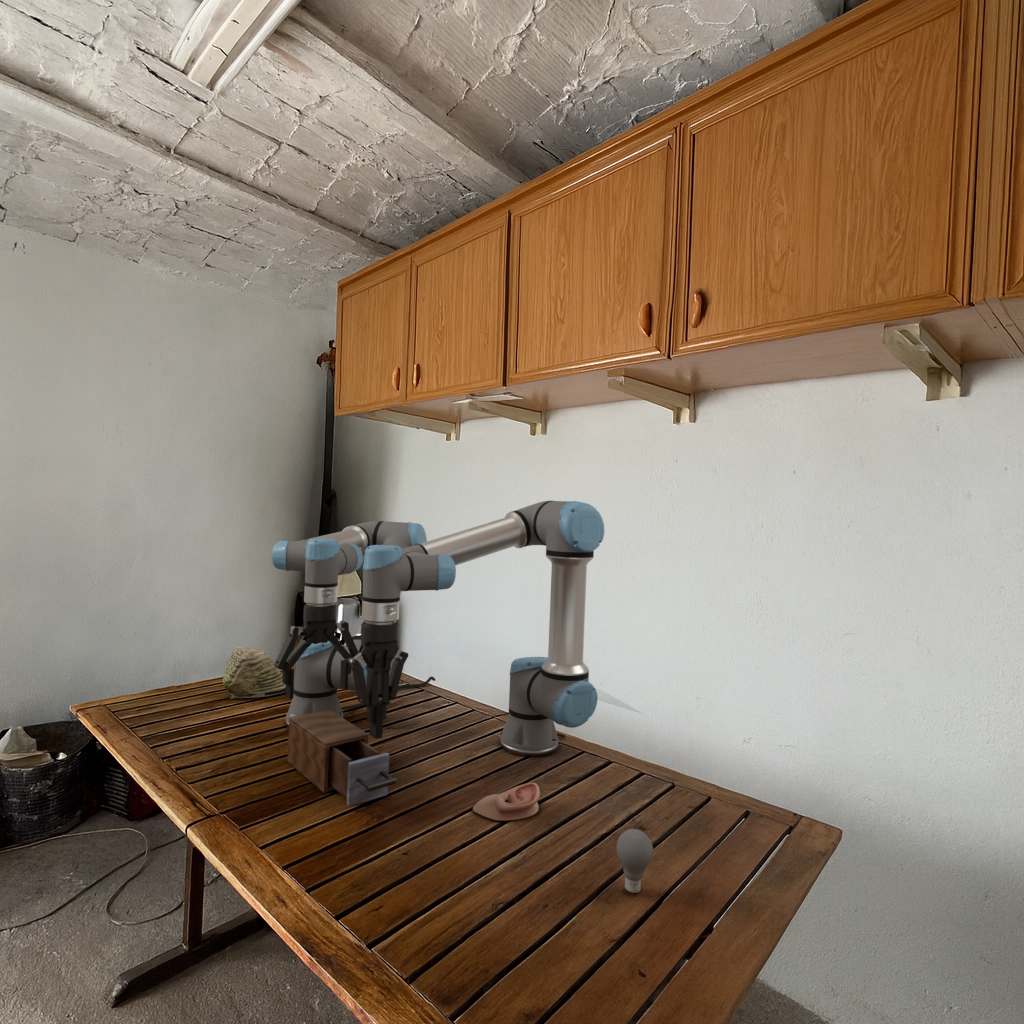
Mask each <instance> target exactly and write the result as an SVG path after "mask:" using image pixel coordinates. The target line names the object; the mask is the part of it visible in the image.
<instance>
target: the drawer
mask: <svg viewBox="0 0 1024 1024" xmlns="http://www.w3.org/2000/svg"><path fill="white" fill-rule="evenodd" d="M389 772H390V753H389V752H382V753H381V752H380V751H379V750H377V749H376V748H374V747H372V746H371V745H370V744H369V743H368V744H367V743H365V742H364V741H362V740H357V741H352V742H348V743H344V744H340V745H336V746H331V747H329V769H328V784H330V785H331V786H332V787H333V788H334V789H336V790H335V791H337V792H338V793H339V794H341V796H343V797H344V798H345V799H346V806H348V807H349V808H350V807H352V806H356V805H359V804H362V803H365V802H369V801H373V800H375V799H378V798H381V797H385V796H388V794H389V786H392V785H396V784H397V783H398V780H397V777H396V776H391V775H390V773H389Z"/></svg>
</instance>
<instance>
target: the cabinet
mask: <svg viewBox="0 0 1024 1024" xmlns="http://www.w3.org/2000/svg"><path fill="white" fill-rule="evenodd" d="M287 739H288V740H287V763H288V764H290V765H291V766H292V767H293V768H294V769H295V770H297V771H298V772H299V773H300V774H301V775H303V776H304V777H305V778H306V779H307V780H308V781H310V782H311V783H312V784H313V785H314V786H315V787H316V788H317V789H319V790H320V791H321V793H323V794H326V793H328V792H329V793H330V792H331V791H337V790H336V789H334V788H333V787H332V786H331V785H330V784H328V769H329V747H331V746H336V745H340V744H344V743H348V742H352V741H357V740H362V741H364V742H365V743H367V744H368V745H369V733H368V732H365V731H364V730H362V729H361V728H360V727H358V726H356V725H355V724H353V723H351V722H350V721H348V720H347V719H345V718H344V717H343V718H342V717H340V716H339V715H337V714H336V713H334V712H333V711H331V710H329V709H328V710H323V711H318V712H313V713H308V714H303V715H298V716H293V717H289V728H288V737H287Z"/></svg>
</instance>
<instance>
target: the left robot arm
mask: <svg viewBox="0 0 1024 1024" xmlns="http://www.w3.org/2000/svg"><path fill="white" fill-rule="evenodd" d="M426 533H427V532H426V529H425V528H424V527H423V525H422V524H420V523H418V522H411V521H408V522H401V521H389V520H388V521H385V520H372V521H366V522H365V521H364V522H361V523H357V524H352V525H348V526H346V527H344V528H343V529H342V531H337V532H332V533H328V534H324V535H319V536H315V537H311V538H306V539H300V540H295V541H294V540H280V541H277V542H275V544H274V546H273V547H272V549H271V564H272V565H273V567H274V568H276V569H277V570H282V571H286V572H289V571H290V572H305V573H304V592H303V594H304V595H303V602H304V603H305V604H304V606H303V624H302V626H295V625H290V626H289V628H288V629H289V630H288V635H287V637H286V639H285V642H284V644H283V645H282V648H281V649H280V652H279V653H278V656H277V657H276V659H275V660H274V661H275V662H274V666H275V667H276V668H278V669H279V670H281V671H282V672H281V673H282V682H283V684H285V685H286V690H285V692H284V693H285V695H284V696H285V698H287V699H289V700H291V702H290V704H289V708H288V711H287V713H286V715H285V726H286V728H287V729H289V717H293V716H298V715H303V714H308V713H313V712H318V711H323V710H328V709H329V710H331V711H333V712H334V713H336V714H337V715H339V716H340V717H342V718H344V714H343V711H345V710H351V709H356V708H361V707H364V706H365V705H364V704H362V703H360V702H358V703H355V704H350V705H343V706H341V702H340V699H339V695H338V690H344V691H345V690H347V691H354V692H356V687H355V682H354V677H353V671H352V668H351V666H350V665H349V663H348V659H349V658H350V657H351V658H354V657H355V656H356V655H357V654H358V653H359V648H360V646H361V624H362V622H364V620H362V619H361V623H360V626H359V629H358V632H357V633H354V634H353V635H352V634H351V632H350V626H349V622H348V621H346V620H342V619H341V620H340V621H339V622H337V615H338V614H337V612H338V605H337V604H336V603H337V602H338V588H339V587H338V585H339V576H342V575H350V574H353V573H354V572H357V570H359V569H360V568H361V567H362V565H363V563H364V556H365V550H366V548H367V547H369V546H371V545H393V546H399V547H401V548H407V547H411V546H414V545H418V544H421V543H424V542H427V541H428V539H427V534H426ZM402 594H403V591H400V599H402V598H401V597H402V596H403V595H402ZM337 630H338V631H339V632H340V634H341V637H342V639H343V641H344V643H345V644H342V643H341V641H340V639H339V638H338V637H337V636H336V635H335V633H336V632H337ZM301 634H303V636H302V637H301V639H300V640H299V643H298V644H297V645H296V647H295V644H296V643H297V640H298V638H299V636H301ZM294 647H295V648H294ZM293 648H294V649H293ZM292 650H293V651H292ZM393 660H394V658H393ZM393 660H392V661H391V668H392V663H393ZM362 662H363V665H362V668H363V671H364V677H365V682H366V686H367V670H366V663H365V662H364V660H363V659H362ZM293 667H294V669H293ZM390 672H391V670H390ZM390 672H389V676H390ZM431 681H434V682H436V678H435V676H429V677H428V678H427V679H426V680H425V681H423V682H420V683H413V684H412V683H411V684H399V686H398V690H401V689H407V688H408V689H409V688H419V687H424V686H426V685H428V684H429V683H430V682H431Z"/></svg>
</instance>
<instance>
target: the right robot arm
mask: <svg viewBox="0 0 1024 1024" xmlns="http://www.w3.org/2000/svg"><path fill="white" fill-rule="evenodd" d="M604 537H605V523H604V519H603V516H602V515H601V513H600V512H599V511H598V509H597V508H596V507H594V505H591V504H590V503H587V502H582V501H576V500H571V501H570V500H569V501H567V500H544V501H539V502H536V503H533V504H531V505H527V506H524V507H521V508H519V509H516V510H515V509H514V510H512V511H508V512H507V513H506V515H505V516H504V517H503V518H499V519H496V520H493V521H490V522H487V523H484V524H480V525H477V526H474V527H470V528H466V529H464V530H460V531H456V532H453V533H451V534H447V535H444V536H441V537H438V538H434V539H430V540H427V542H424V543H421V544H418V545H414V546H411V547H407V548H401V547H399V546H393V545H371V546H369V547H367V548H366V550H365V556H363V563H362V565H363V566H362V600H361V622H362V620H364V622H362V624H361V623H360V625H361V646H360V648H359V653H358V654H357V655H356V656H355V657H354V658H351V657H350V658H349V659H348V663H349V665H350V666H351V668H352V671H353V677H354V682H355V687H356V691H355V692H356V697H357V701H358V703H362V704H364V706H366V717H365V718H366V721H367V722H369V729H368V731H369V732H368V736H370V737H372V738H373V739H374V740H376V739H377V740H378V739H381V738H383V727H384V720H386V718H387V714H388V713H387V709H388V708H387V707H388V706H390V704H391V701H394V700H396V698H397V694H398V690H399V689H398V686H400V682H401V678H402V673H403V669H404V665H405V664H406V661H407V659H408V658H409V653H408V652H406V651H404V650H402V649H400V646H399V644H398V640H399V631H400V630H399V629H400V628H399V627H400V623H399V622H398V620H399V619H400V603H401V602H400V601H401V598H400V591H402V592H413V591H414V592H415V591H416V592H419V591H436V592H438V591H443V590H448V589H450V588H451V587H453V585H454V583H455V581H456V576H457V568H456V566H458V565H462V564H464V563H467V562H471V561H473V560H478V559H479V558H483V557H486V556H489V555H491V554H494V553H495V554H496V553H498V552H501V551H504V550H507V549H509V548H513V547H514V548H516V549H523V548H525V547H531V546H543V547H544V546H545V557H546V558H547V559H548V560H549V561H550V562H551V573H550V574H551V577H550V598H549V600H550V601H549V621H548V622H549V624H548V625H549V626H548V651H547V656H525V657H519V658H515V659H514V660H513V661H511V664H510V669H509V693H508V695H509V696H508V715H507V718H506V721H505V724H504V726H503V729H502V730H501V732H500V734H499V736H500V739H499V740H500V742H499V744H500V747H501V748H502V749H503V750H505V751H506V752H509V753H510V754H514V755H518V756H523V757H542V756H547V755H551V754H554V753H555V752H556V751H557V750H558V749H559V737H560V738H566V734H563V733H560V732H557V729H556V726H555V724H556V725H560V726H563V727H566V728H569V729H571V728H572V729H573V728H578V727H581V726H583V725H584V724H586V722H588V721H589V719H590V718H591V717H592V716H593V715H594V713H595V711H596V709H597V705H598V700H599V699H598V698H599V697H598V691H597V689H596V688H595V686H594V685H593V684H592V682H590V679H589V677H590V676H589V675H590V668H589V667H588V665H587V664H586V663H585V662H584V647H585V646H584V645H585V621H586V598H587V597H586V596H587V573H588V564H589V563H590V562H591V561H592V560H593V559H594V556H595V555H594V553H595V550H597V549H598V548H599V547H600V544H601V543H602V542H603V540H604ZM393 658H394V660H393ZM362 659H363V660H364V662H365V663H366V670H367V686H366V682H365V677H364V671H363V668H362V665H363V662H362ZM392 660H393V663H392V668H391V661H392ZM390 670H391V672H390ZM389 672H390V676H389Z"/></svg>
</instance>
